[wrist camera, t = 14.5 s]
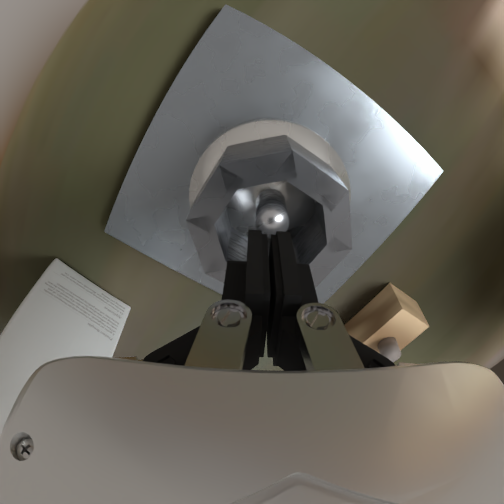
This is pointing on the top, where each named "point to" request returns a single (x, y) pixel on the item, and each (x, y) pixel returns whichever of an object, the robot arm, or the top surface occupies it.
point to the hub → (259, 127)
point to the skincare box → (56, 328)
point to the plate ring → (262, 172)
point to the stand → (388, 322)
